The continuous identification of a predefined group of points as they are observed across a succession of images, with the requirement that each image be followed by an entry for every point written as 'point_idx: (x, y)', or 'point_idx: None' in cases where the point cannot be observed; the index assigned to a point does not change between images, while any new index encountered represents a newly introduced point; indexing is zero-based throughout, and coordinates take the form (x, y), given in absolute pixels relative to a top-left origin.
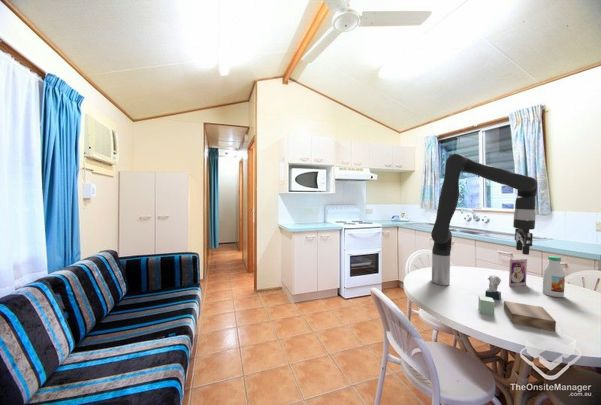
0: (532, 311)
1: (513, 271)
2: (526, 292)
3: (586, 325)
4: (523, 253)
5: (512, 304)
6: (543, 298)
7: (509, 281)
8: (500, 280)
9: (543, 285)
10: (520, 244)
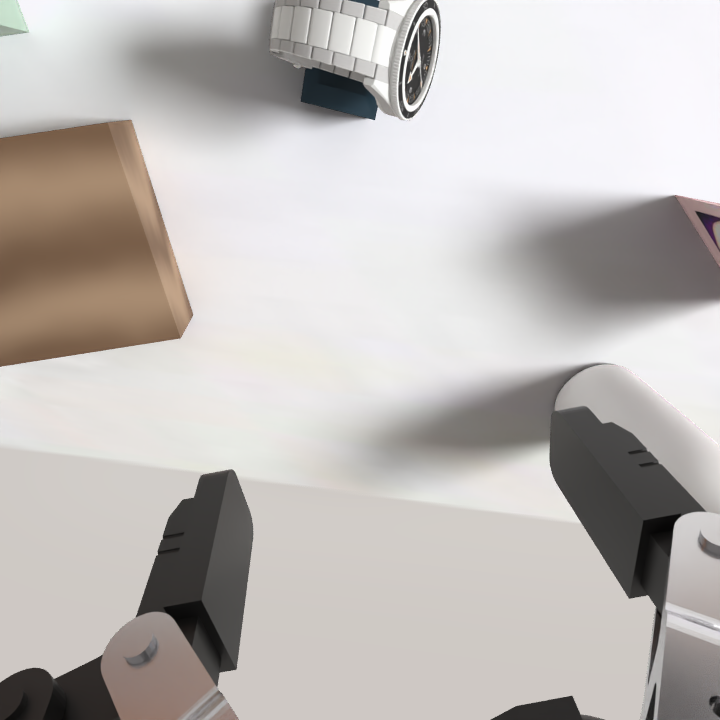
0: (40, 281)
1: None
2: (574, 285)
3: (219, 453)
4: (205, 484)
5: (72, 176)
6: (504, 353)
7: (701, 203)
8: (395, 115)
9: (624, 388)
10: (614, 540)
